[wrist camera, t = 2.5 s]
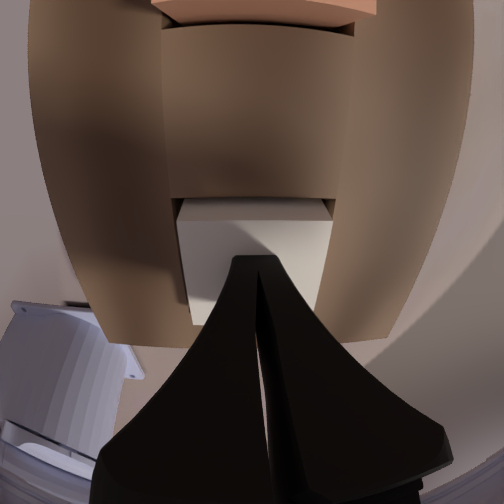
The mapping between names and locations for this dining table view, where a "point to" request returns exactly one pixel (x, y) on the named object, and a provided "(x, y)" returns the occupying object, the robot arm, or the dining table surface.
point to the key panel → (246, 146)
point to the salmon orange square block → (269, 11)
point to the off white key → (250, 242)
